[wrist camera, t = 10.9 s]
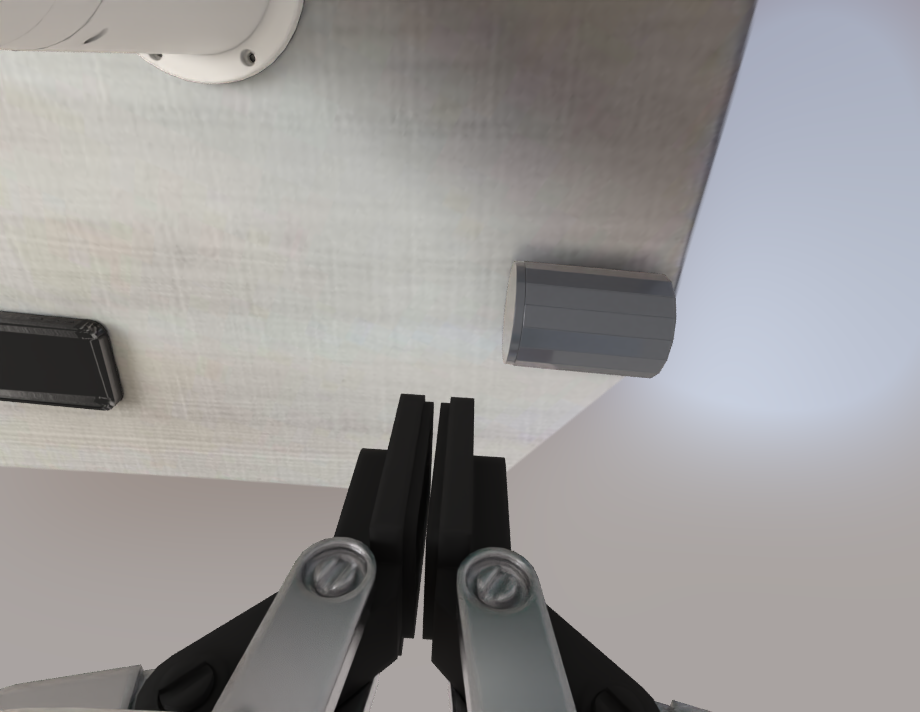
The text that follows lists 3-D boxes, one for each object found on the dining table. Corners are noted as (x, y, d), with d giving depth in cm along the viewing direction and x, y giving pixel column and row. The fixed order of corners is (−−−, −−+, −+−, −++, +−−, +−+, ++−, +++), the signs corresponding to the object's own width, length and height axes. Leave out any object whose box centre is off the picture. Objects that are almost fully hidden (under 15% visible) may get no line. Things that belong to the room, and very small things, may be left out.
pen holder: (504, 383, 35) (655, 397, 35) (519, 283, 32) (686, 299, 32) (500, 335, 41) (629, 347, 41) (513, 247, 38) (653, 260, 38)
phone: (117, 411, 44) (-66, 394, 44) (125, 404, 45) (-54, 387, 45) (95, 326, 41) (-106, 307, 40) (104, 320, 42) (-92, 301, 41)
